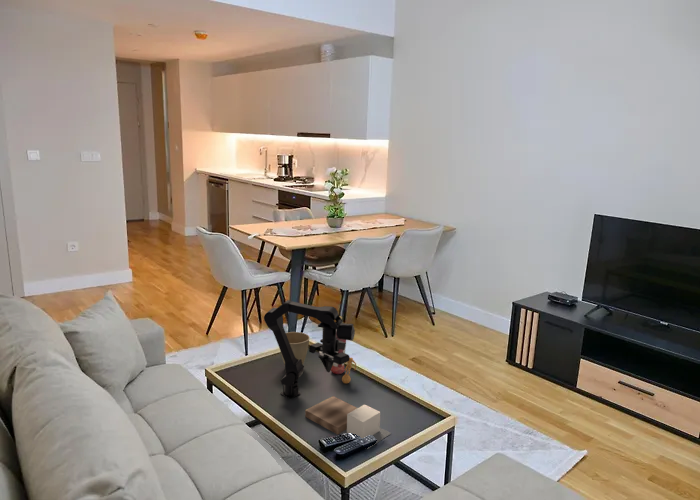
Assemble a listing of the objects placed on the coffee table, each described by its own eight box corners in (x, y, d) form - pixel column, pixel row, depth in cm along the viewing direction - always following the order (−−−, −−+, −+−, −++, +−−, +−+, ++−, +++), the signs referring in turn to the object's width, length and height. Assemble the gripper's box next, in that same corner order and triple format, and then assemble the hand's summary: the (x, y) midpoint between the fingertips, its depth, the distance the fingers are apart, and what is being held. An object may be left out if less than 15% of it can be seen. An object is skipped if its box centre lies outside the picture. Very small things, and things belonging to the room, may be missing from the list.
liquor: (347, 374, 242) (349, 318, 236) (332, 376, 240) (334, 320, 234) (342, 368, 249) (343, 313, 243) (328, 370, 247) (329, 315, 240)
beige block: (347, 414, 193) (363, 422, 188) (364, 404, 200) (380, 412, 195) (346, 433, 194) (362, 441, 189) (363, 422, 202) (379, 430, 197)
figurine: (336, 381, 235) (337, 357, 233) (344, 377, 240) (345, 353, 237) (350, 387, 230) (351, 362, 228) (358, 382, 235) (359, 358, 232)
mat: (339, 433, 194) (339, 433, 194) (363, 419, 204) (363, 419, 204) (367, 449, 185) (367, 448, 185) (391, 433, 195) (391, 433, 195)
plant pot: (315, 369, 247) (315, 338, 243) (290, 378, 237) (290, 346, 234) (297, 359, 258) (297, 329, 254) (272, 367, 248) (272, 336, 245)
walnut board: (305, 416, 205) (305, 410, 204) (332, 402, 217) (333, 396, 216) (337, 434, 193) (337, 427, 193) (365, 418, 205) (365, 411, 204)
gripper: (358, 338, 212) (357, 373, 216) (326, 326, 224) (326, 359, 228) (340, 345, 204) (339, 381, 208) (308, 333, 216) (308, 367, 220)
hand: (328, 371), depth 216 cm, fingers closed
